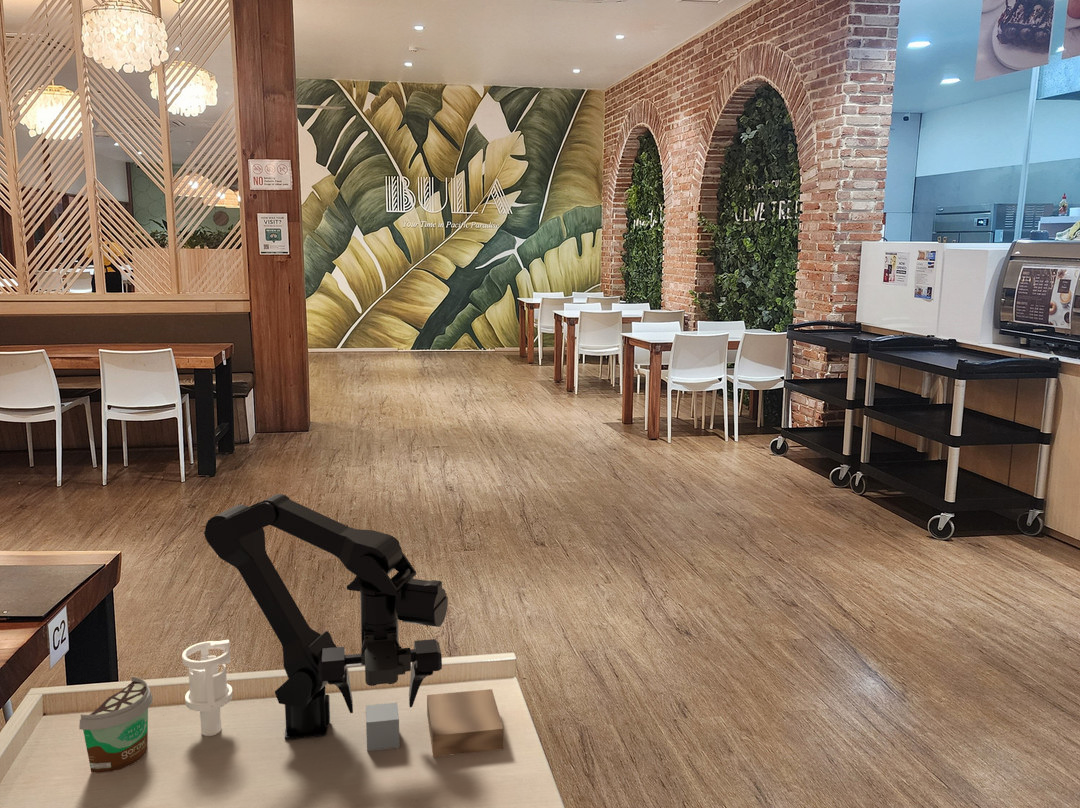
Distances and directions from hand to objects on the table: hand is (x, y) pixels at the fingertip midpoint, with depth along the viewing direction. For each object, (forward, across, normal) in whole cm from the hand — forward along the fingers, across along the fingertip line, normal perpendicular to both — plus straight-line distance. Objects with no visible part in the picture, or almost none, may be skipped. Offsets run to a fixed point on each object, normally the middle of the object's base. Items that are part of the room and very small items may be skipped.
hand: (381, 708), depth 135 cm
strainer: (+6, -27, +8) cm, 29 cm away
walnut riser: (+6, +13, 0) cm, 14 cm away
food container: (+6, -38, +3) cm, 38 cm away
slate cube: (+6, 0, 0) cm, 6 cm away
